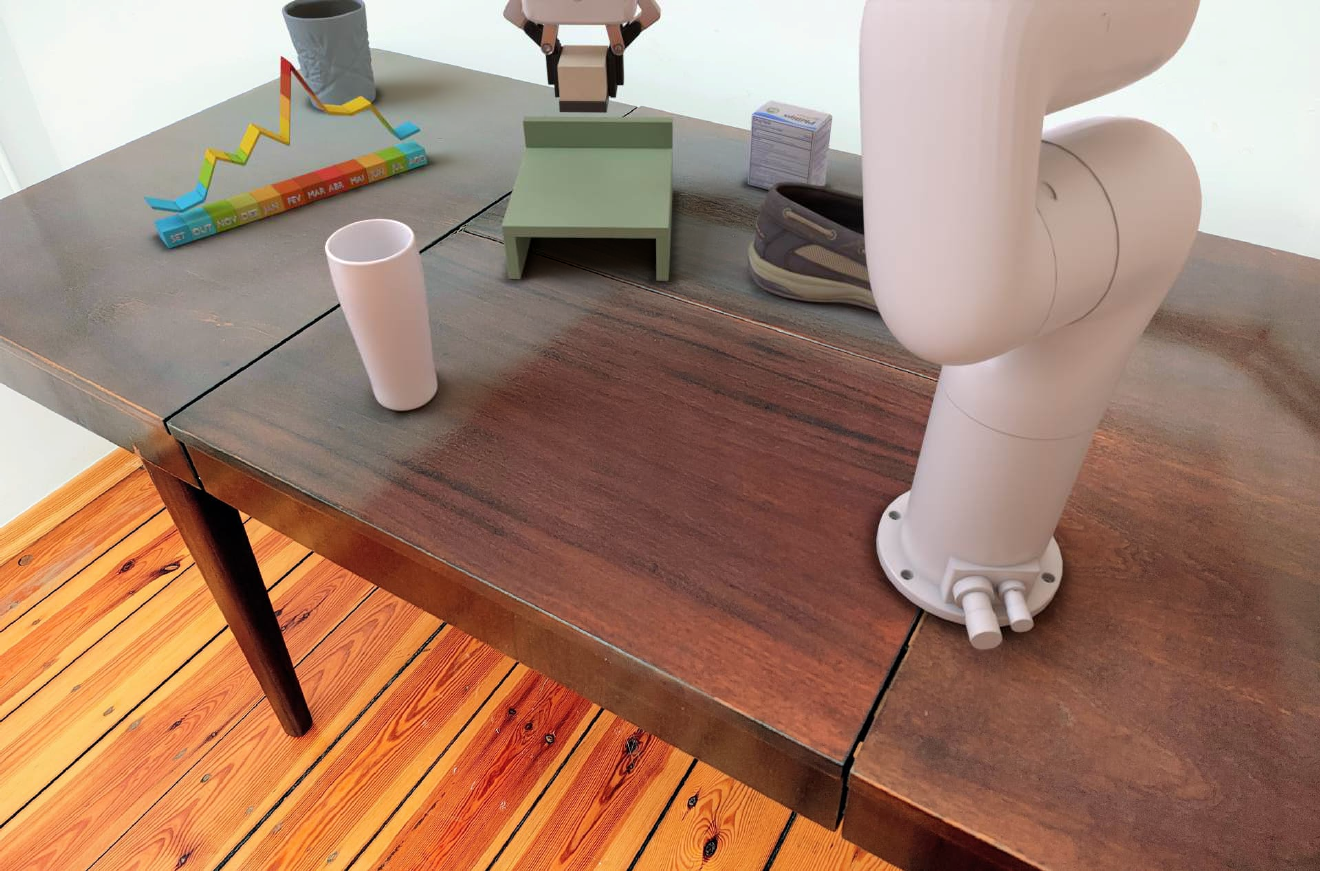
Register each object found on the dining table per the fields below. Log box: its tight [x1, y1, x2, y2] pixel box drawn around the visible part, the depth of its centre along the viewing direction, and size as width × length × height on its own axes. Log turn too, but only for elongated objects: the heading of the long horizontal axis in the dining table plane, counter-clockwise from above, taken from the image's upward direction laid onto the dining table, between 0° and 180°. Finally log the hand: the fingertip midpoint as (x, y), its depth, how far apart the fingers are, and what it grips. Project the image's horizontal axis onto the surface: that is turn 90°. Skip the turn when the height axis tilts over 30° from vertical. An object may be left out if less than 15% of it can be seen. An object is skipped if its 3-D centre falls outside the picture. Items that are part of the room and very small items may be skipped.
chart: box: [143, 55, 428, 249], centre depth 101 cm, size 30×3×15 cm, turn 129°
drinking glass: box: [324, 218, 439, 412], centre depth 75 cm, size 7×7×15 cm
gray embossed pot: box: [281, 0, 377, 111], centre depth 122 cm, size 10×10×12 cm
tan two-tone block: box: [558, 44, 610, 114], centre depth 88 cm, size 8×4×4 cm, turn 178°
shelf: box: [501, 116, 674, 282], centre depth 96 cm, size 18×16×9 cm
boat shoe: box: [746, 182, 880, 313], centre depth 87 cm, size 11×29×11 cm, turn 78°
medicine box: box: [747, 100, 833, 191], centre depth 104 cm, size 8×4×9 cm, turn 58°
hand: (586, 90), depth 89 cm, fingers closed on tan two-tone block, 4 cm apart
